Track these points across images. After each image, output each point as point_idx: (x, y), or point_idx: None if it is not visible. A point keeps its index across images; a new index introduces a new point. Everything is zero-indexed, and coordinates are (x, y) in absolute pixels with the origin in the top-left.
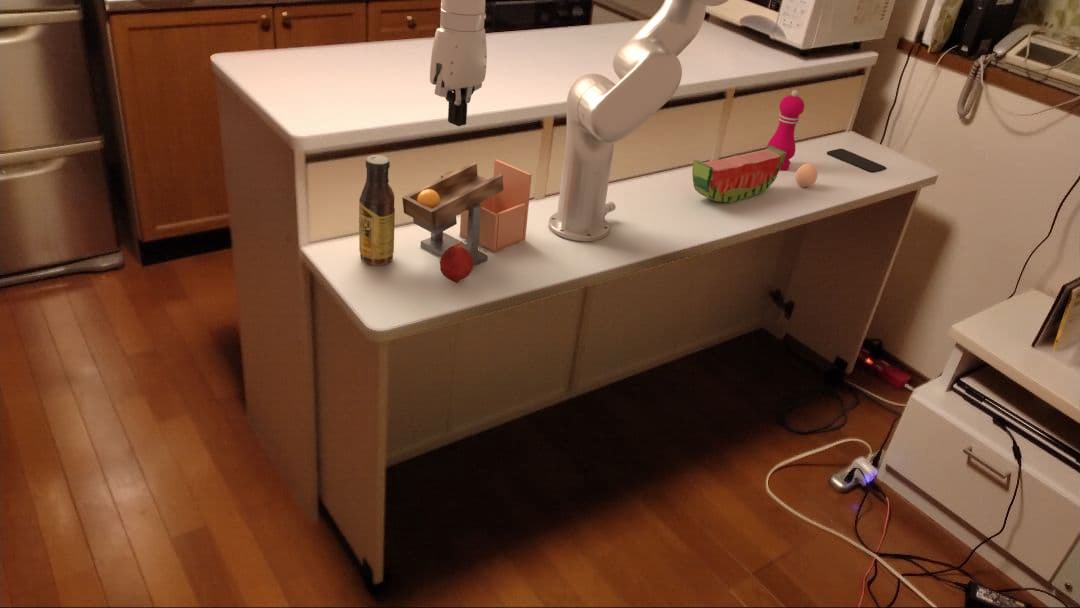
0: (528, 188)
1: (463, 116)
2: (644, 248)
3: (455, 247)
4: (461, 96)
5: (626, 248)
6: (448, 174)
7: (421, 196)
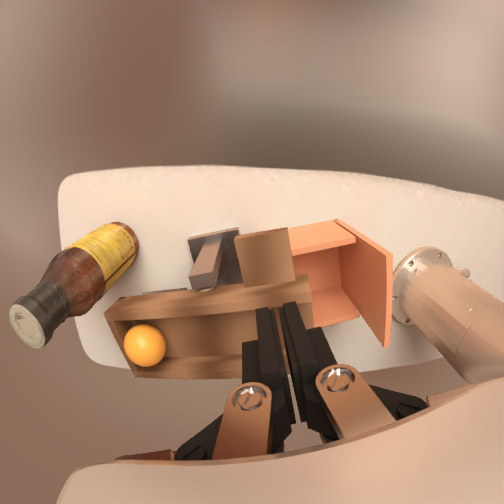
0: (373, 331)
1: (293, 386)
2: (428, 348)
3: None
4: (326, 421)
5: (417, 344)
6: (251, 247)
7: (125, 352)
